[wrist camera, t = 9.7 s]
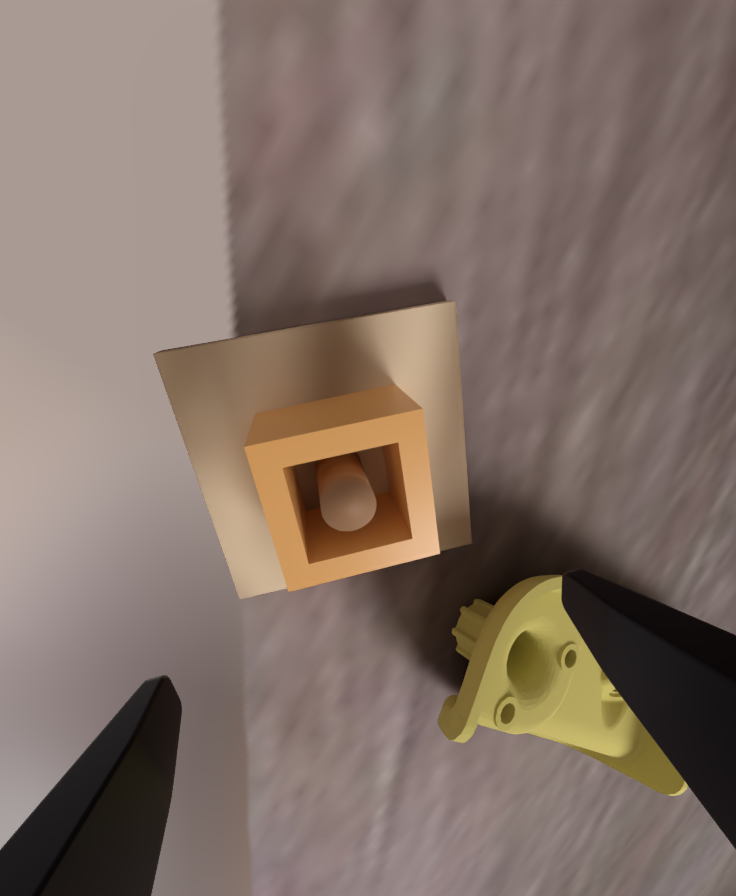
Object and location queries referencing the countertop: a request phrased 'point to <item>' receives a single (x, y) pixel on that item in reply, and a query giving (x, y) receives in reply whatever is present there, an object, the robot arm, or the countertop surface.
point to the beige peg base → (306, 380)
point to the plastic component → (547, 685)
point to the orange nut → (332, 434)
